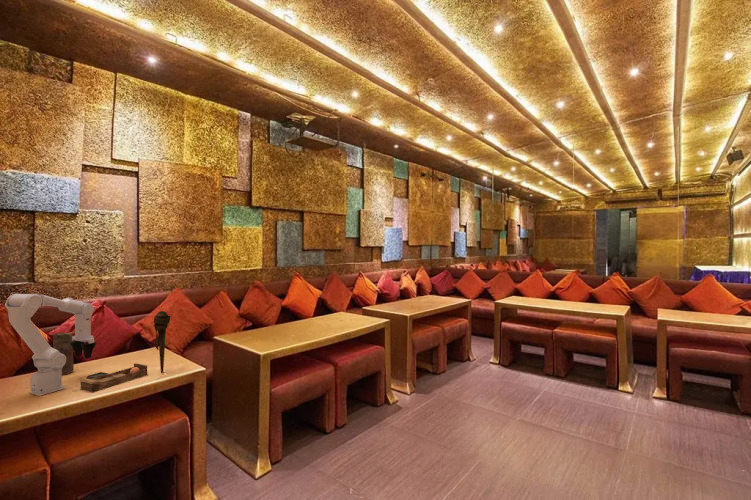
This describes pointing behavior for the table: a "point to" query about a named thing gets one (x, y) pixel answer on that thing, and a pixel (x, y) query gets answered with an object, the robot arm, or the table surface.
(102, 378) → the lane
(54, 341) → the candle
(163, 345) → the decorative torch
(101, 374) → the grey square tray
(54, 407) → the table surface
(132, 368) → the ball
